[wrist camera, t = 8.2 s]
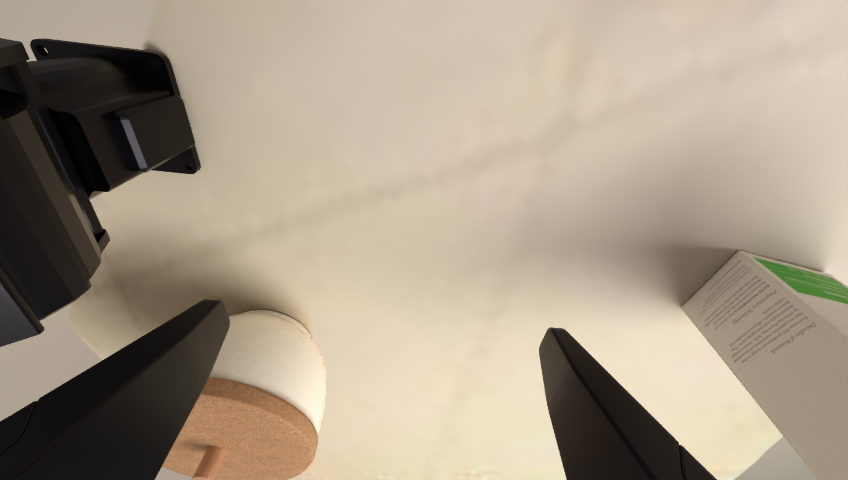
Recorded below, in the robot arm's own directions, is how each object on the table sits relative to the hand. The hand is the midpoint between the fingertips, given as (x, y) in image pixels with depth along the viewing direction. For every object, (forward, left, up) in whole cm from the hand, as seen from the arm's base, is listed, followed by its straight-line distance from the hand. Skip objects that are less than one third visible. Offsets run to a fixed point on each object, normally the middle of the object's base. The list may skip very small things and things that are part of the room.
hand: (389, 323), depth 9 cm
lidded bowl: (-11, -18, -13) cm, 25 cm away
